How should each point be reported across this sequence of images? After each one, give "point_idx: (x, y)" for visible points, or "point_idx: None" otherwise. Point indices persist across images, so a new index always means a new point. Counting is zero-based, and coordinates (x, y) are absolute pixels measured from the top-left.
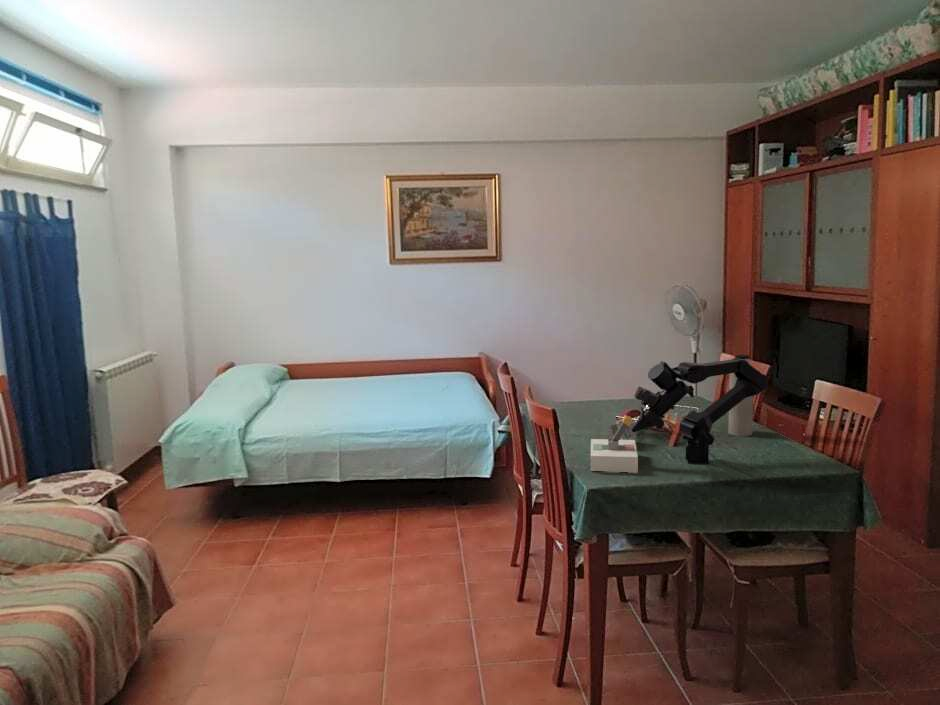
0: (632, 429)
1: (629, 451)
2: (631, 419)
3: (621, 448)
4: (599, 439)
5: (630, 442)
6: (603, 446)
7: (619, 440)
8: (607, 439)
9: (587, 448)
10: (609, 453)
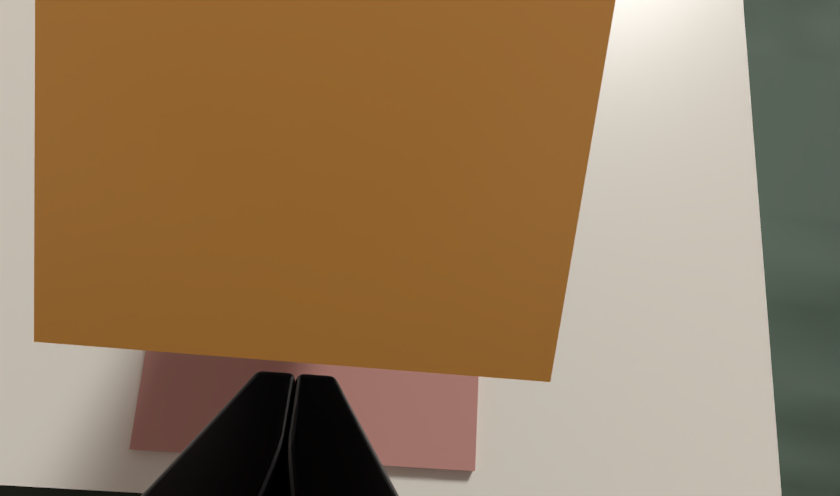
0: (239, 397)
1: (110, 358)
2: (225, 300)
3: None
4: (730, 11)
5: (628, 438)
6: None
7: (716, 274)
8: (747, 113)
9: (821, 22)
10: (33, 40)
